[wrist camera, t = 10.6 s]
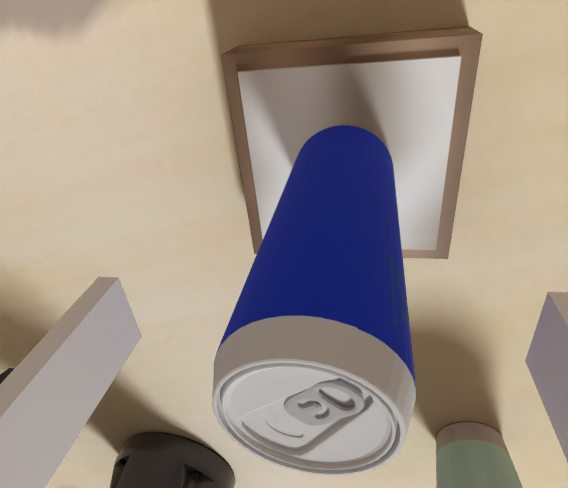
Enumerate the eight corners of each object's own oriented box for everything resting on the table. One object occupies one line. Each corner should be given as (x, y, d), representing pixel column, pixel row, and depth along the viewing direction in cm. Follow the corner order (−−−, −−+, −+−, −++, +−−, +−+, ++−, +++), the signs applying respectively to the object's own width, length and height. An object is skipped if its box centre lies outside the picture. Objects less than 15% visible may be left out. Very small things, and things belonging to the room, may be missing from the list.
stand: (264, 229, 29) (253, 256, 26) (238, 46, 22) (219, 56, 20) (441, 232, 26) (448, 261, 24) (469, 26, 20) (484, 34, 17)
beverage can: (346, 226, 24) (316, 499, 11) (278, 171, 22) (164, 410, 10) (414, 166, 21) (471, 441, 9) (340, 99, 20) (287, 309, 7)
